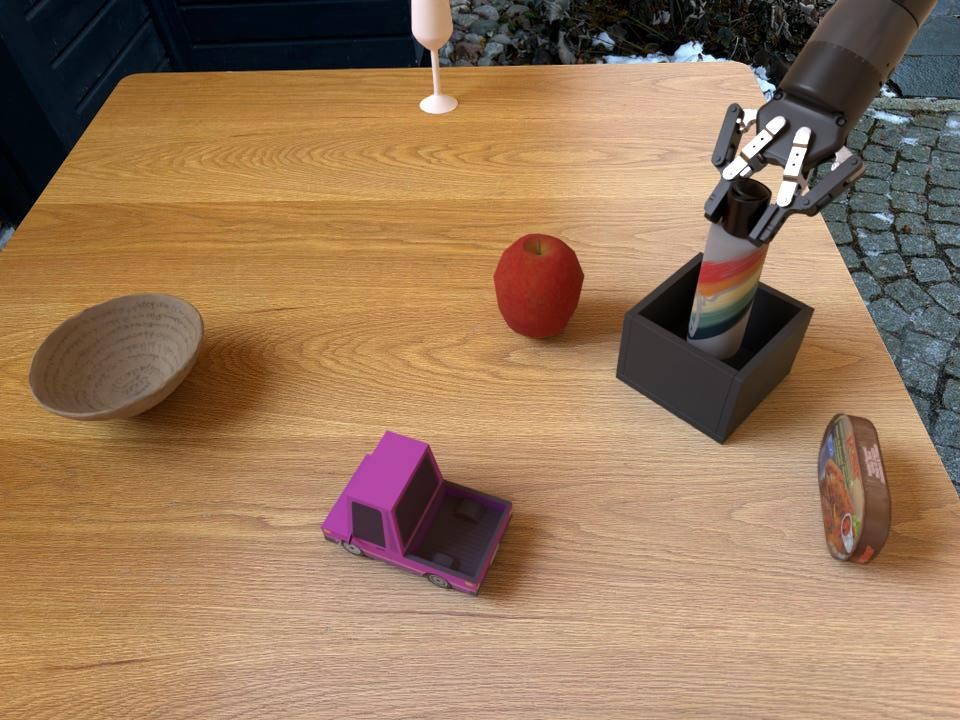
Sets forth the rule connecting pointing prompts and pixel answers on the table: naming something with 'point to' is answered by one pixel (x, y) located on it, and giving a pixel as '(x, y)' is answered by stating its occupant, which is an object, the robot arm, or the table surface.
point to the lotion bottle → (729, 272)
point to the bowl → (117, 357)
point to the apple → (538, 285)
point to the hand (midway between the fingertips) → (731, 231)
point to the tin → (853, 490)
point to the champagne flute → (433, 46)
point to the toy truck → (418, 517)
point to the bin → (694, 373)
